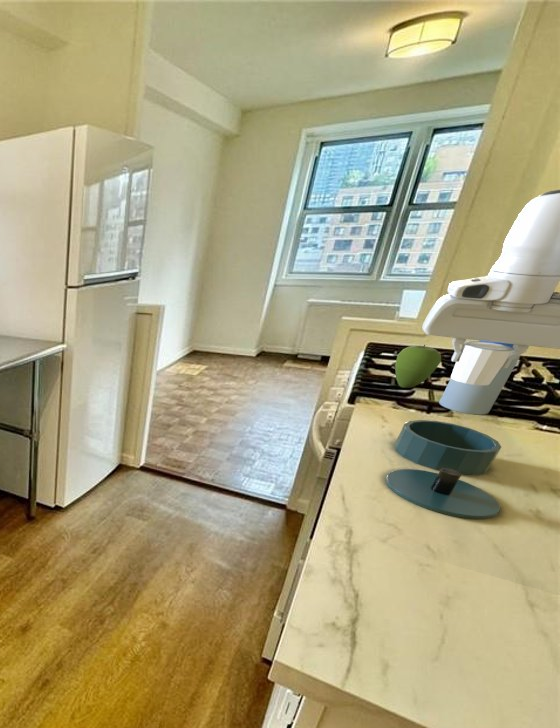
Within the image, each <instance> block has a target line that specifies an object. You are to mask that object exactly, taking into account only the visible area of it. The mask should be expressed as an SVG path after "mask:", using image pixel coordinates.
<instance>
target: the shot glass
mask: <svg viewBox="0 0 560 728" xmlns="http://www.w3.org/2000/svg"><path fill="white" fill-rule="evenodd" d="M460 349H461V353H462V355H461V358H460V360H459V362H455V364H454V367H453V369H452V373H451V375H450V379H453V380H455V381H458V382H462V383H466V384H471V385H480V386H482V385H489V384H490V383H491V381H492V380H493V379H494V377H495V376H496V374H497V373H498V371H499V370H500V369H501V367H502V366H503V364H504V363H505V361H506V360H507V358H508V357H509V356H510V354H511V353H512V351H513V349H512V348H510V347H508V346H504V345H500V344H495V343H489V342H480V341H479V340H466V341H465V343H464V344H463V345H462V344H461V346H460Z"/></svg>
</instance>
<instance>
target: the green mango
mask: <svg viewBox="0 0 560 728" xmlns="http://www.w3.org/2000/svg"><path fill="white" fill-rule="evenodd" d="M441 362H442V354H441V353H440V352H439V351H438V350H437V349H435V348H433V347H430V346H426V344H424V345H409V346H407V347H405V348H403V349H402V350H401V351H400V352H399V353H398V354H397V357H396V360H395V363H394V368H395V369H394V370H395V379H396V381H397V385H398V386H399V387H400V388H403V389H404V388H405V389H411V388H414V387H416V386H418V385H420V384H422V383H423V382H425V381H426V380H427V379H428V378H429V377H431V375H432V374H433V373H434V372H435V371H436V369H437V368H438V366H440V364H441Z"/></svg>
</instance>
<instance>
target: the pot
mask: <svg viewBox="0 0 560 728" xmlns="http://www.w3.org/2000/svg"><path fill="white" fill-rule="evenodd" d="M393 448H394V451H395V452H396V453H397V454H398V455H400V456H401V457H402V458H404V459H406V460H408V461H410V462H412V463H414V464H416V465H419V466H422V467H425V468H427V469H431V470H434V471H438V472H440V470H441V469H442V468H449V469H453V470H456V471H458V472H460V473H461V476H480V475H484V474H486V472H488V471H489V469H490V467H491V466H492V464H493V462H494V460H495V459H496V457H497V456H498V454H499V453H500V451H501V449H502V445H501V443H500V442H499V441H498V440H496V439H495V438H494V437H492V436H489V435H488V434H486V433H484V432H481V431H479V430H476V429H474V428H470V427H467V426H463V425H459V424H455V423H450V422H444V421H439V420H426V419H417V420H408V421H407V422H405V423H404V424H403V426H402V428H401V430H400V433H399V435H398V436H397V438H396V440H395V443H394V444H393Z"/></svg>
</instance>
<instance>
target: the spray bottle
mask: <svg viewBox="0 0 560 728" xmlns="http://www.w3.org/2000/svg"><path fill="white" fill-rule="evenodd" d="M480 342H489V341H480ZM489 343H495V344H500V345H504V346H508V347H510V348H512V349H513V351H514V350H515V349H514V348H513V345H514V344H507V343H498V342H489ZM520 358H521V355H520V356H518V357H517V358H515V359H513V360H512V361H511V363H510V365H509V366H508V368H501V369H500V370H499V371H498V373H497V374H496V376H495V377H494V379H493V380H492V381H491V383H490V384H489V385H482V386H480V385H471V384H466V383H462V382H458V381H455V380H453V379H451V378H450V380H449V381H448V383H447V385H446V387H445V390H444V391H443V393H442V395H441V397H440V399H439V402H438V404H439V405H440V406H441V407H443V408H446V409H448V410H450V411H455V412H458V413H463V414H467V415H468V414H469V415H480V416H481V415H487V414H489V413H490V411H491V409H492V408H493V406H494V405H495V403H496V401H497V399H498V397H499V395H500V394H501V392H502V390H503V388H504V386H505V385H506V383H507V381H508V379H509V378H510V375H511V374H512V372H513V370H514V368H515V366H516V365H517V363H518V361H519V359H520Z"/></svg>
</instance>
